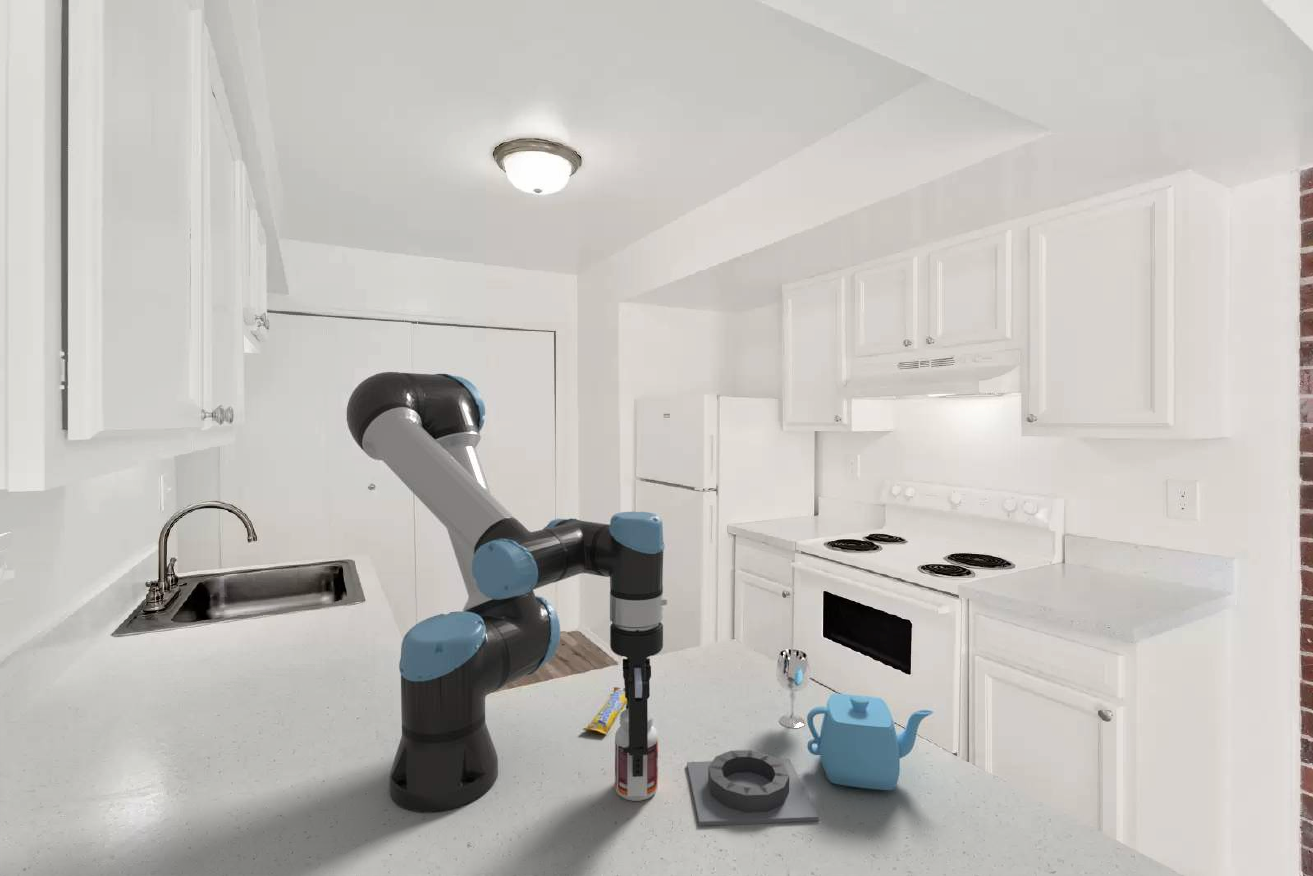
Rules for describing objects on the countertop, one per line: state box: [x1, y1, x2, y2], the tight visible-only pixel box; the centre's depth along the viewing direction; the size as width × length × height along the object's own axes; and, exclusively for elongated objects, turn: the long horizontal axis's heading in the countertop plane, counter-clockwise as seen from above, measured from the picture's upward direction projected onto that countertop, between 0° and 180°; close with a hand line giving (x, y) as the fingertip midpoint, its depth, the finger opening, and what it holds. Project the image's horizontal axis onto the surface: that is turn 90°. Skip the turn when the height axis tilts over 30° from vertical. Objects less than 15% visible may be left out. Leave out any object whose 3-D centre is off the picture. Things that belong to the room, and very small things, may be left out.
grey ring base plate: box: [686, 749, 819, 827], centre depth 91 cm, size 16×14×3 cm
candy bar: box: [582, 686, 627, 735], centre depth 115 cm, size 17×4×2 cm, turn 165°
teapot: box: [806, 693, 934, 791], centre depth 96 cm, size 12×18×12 cm
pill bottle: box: [614, 708, 659, 802], centre depth 92 cm, size 6×6×11 cm
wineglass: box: [775, 648, 811, 729], centre depth 111 cm, size 6×6×12 cm
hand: (636, 779), depth 92 cm, fingers closed on pill bottle, 6 cm apart
